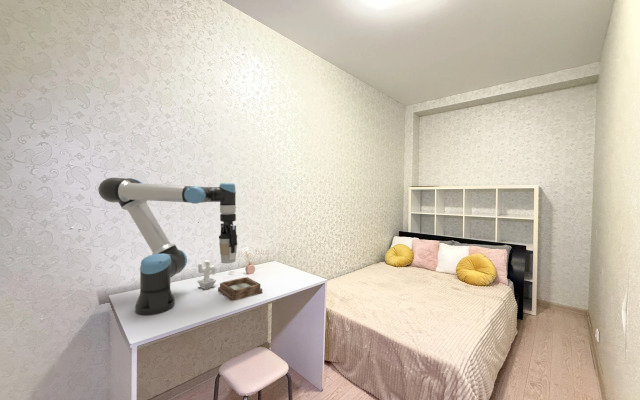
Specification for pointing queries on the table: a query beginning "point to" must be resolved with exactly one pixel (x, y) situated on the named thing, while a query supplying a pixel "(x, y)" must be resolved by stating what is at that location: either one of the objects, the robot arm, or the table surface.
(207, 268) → the figurine
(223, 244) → the coffee cup
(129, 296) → the table surface
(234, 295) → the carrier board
